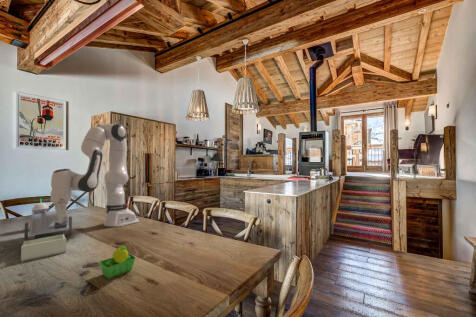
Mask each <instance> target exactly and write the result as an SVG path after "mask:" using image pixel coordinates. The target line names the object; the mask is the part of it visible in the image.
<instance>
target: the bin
mask: <svg viewBox="0 0 476 317" xmlns="http://www.w3.org/2000/svg"><path fill="white" fill-rule="evenodd" d="M65 236H66V235H65V234H64V233H63V235H57V236H52V237H46V238H40V239H35V238H34V239H30V240H29V239H28V241H23V243H22V245H21V247H20V249H21V250H20V252H21V254H20V263H24V262H25V263H26V262H29V261H34V260H39V259H43V258H47V257H51V256H52V257H53V256H56V255H61V254H65V253H67V237H65Z"/></svg>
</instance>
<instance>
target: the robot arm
mask: <svg viewBox="0 0 476 317" xmlns="http://www.w3.org/2000/svg"><path fill="white" fill-rule="evenodd" d="M126 136H127V130H126V127H125V126H124V125H123V124H119V123H108V124H106V123H105V124H98V125H96V126H92V127H90V128H89V130H88V131H87V132H86V134H85V136H84V138H83V141H82V143H81V147H80V150H81V151H82V153H83V155H85V156H87V158H88V159H89V163H88V166H87V169H86V172H85V174H82V173H77V172H74V171H72V170H71V169H70V168H62V169H56V170H54V171H53V172H52V174H51V180H50V186H51V190H50V202H51V203H53V206H54V209H55V210H54V211H56V214H57V218H58V223H59V224H60V223H63V217H66V215H67V205H68V204H69V202H71V200H72V191H78V192H79V191H80V192H85V193H90V192H94V191H95V190H96V189H97V187H98V186H99V177H100V176H99V175H100V170H101V165H102V162H103V152H102V151H103V148H104V144H105V142H106V141H109V143H110V145H109V155H108V163H109V170H108V171H107V172H106V173H105V174H104V180H105V182H104V183H105V189H106V205H105V213H106V214H105V219H104V223H103V226H104V227H114V228H115V227H116V228H117V227H123V226H127V225H133V224H136V223H139V222H140V219H139V218H137V215H136V213H135V212H134V211H132V210H131V209H129V207H130V205H129V204H128V203H125V197H126V196H125V195H126V193H125V190H124V187H123V186H124V185H125V184H127V183H128V181H129V174H128V167H127V154H128V152H127V151H128V143H127V138H126Z"/></svg>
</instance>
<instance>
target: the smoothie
mask: <svg viewBox="0 0 476 317" xmlns="http://www.w3.org/2000/svg"><path fill="white" fill-rule="evenodd" d="M39 201H40V202H38V203H36V204H35V205H33V207H32V208H31V210H36V209H45V208H47V212H50V207H49V205H48V204H47V203H45V202H43V201H42V198H40V200H39Z"/></svg>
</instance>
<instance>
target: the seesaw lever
mask: <svg viewBox="0 0 476 317" xmlns="http://www.w3.org/2000/svg"><path fill="white" fill-rule="evenodd" d="M31 210H32V209H31ZM29 223H30V224H29V229H28V237H32V236H35V235H39V234H45V233H51V232H57V231H63V232H64V231H68V230H69V219H68V215H67V214H66V217H63V223H60V224H59V223H58V218H57V214H56V210H54V211H53V210H52V211H49V212H47V208H45V209H36V210H32V211H31V215H30V222H29Z"/></svg>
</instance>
